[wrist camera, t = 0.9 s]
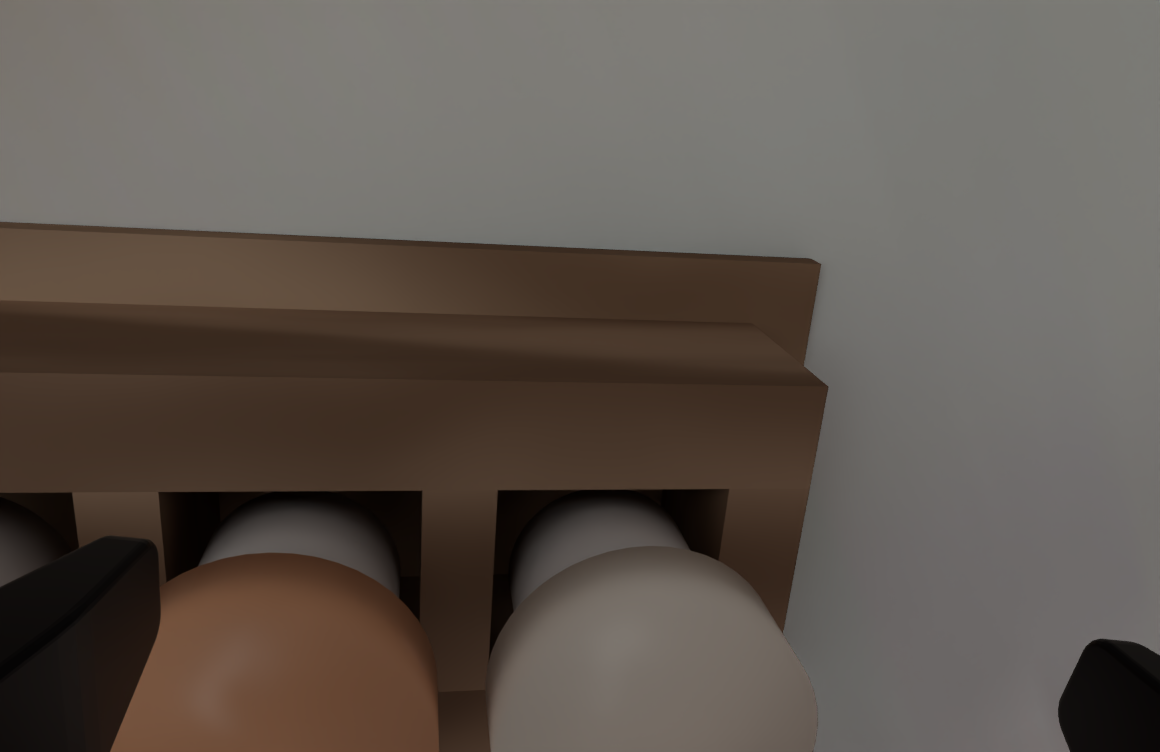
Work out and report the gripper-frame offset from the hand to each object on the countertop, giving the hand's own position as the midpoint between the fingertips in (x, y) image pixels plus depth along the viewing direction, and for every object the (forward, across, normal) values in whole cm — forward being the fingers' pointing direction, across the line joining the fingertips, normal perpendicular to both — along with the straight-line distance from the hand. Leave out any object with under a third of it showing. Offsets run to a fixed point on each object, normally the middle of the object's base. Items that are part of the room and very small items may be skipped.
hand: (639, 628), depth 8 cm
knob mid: (+8, +5, +6) cm, 11 cm away
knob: (+9, -1, +5) cm, 10 cm away
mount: (+12, +5, +6) cm, 15 cm away
